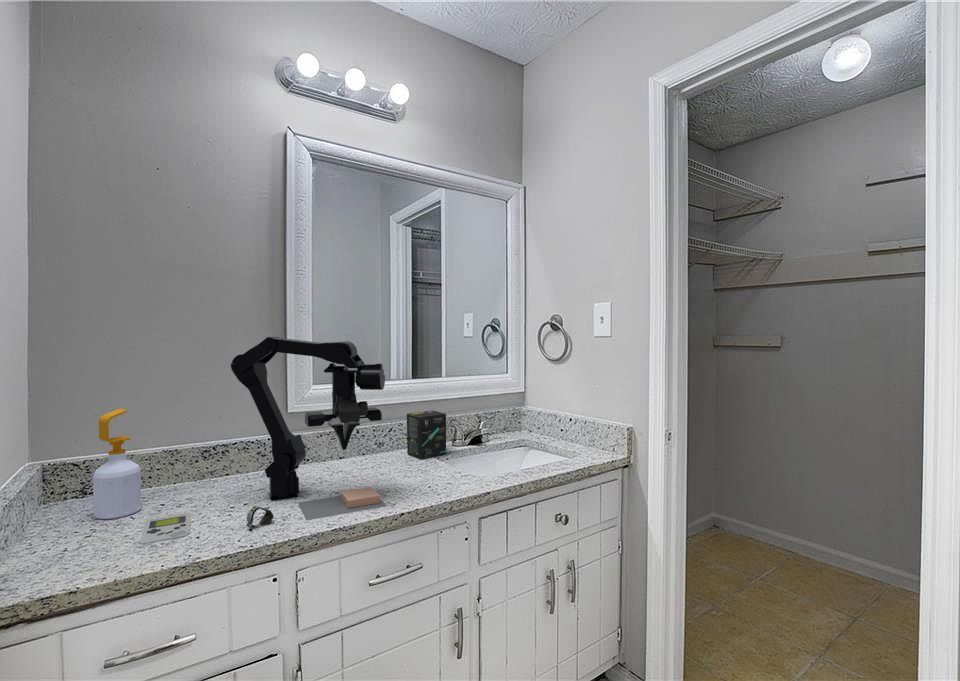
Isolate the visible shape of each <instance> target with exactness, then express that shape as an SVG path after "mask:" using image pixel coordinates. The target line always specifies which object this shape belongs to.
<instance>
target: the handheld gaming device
mask: <svg viewBox="0 0 960 681" xmlns="http://www.w3.org/2000/svg"><path fill="white" fill-rule="evenodd" d="M191 515H192V514H191V512H183V513H177V514H170V515H165V516H158V517H153V518H148V519H146V520H144V521H145V522H144V526H143V529H142V533H141V537H140V541H139V545H147V544H153V543H159V542H163V541H165V542H166V541H168V540H169V541H170V540H175V539H180V538H184V537H187V536H189V535H190V534H191Z"/></svg>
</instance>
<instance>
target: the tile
mask: <svg viewBox="0 0 960 681" xmlns="http://www.w3.org/2000/svg"><path fill="white" fill-rule="evenodd" d="M340 496H341V500H342V501H343V502H344V504H345V505H346V506H347V508H354V507H360V506H365V505H371V504H377V503H380V499H381V495H380V493H379V492H377V490H375V489H374V487H373V486H367V487H360V488H353V489H348V490H341V491H340Z"/></svg>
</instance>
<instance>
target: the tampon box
mask: <svg viewBox="0 0 960 681" xmlns="http://www.w3.org/2000/svg"><path fill="white" fill-rule="evenodd" d="M406 440H407V441H406V444H407V446H406V447H407V449H406V450H407V451H406V452H407V453H406V454H407V455H408V456H411V457H414V458H416V459H419V460H427V459H430V458H434V457H435V458H436V457H439V456H444V455H446V454H447V413H446V412H441V411H437V410H433V409H432V410H425V411H418V412H410V413H406Z"/></svg>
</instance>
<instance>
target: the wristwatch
mask: <svg viewBox="0 0 960 681" xmlns="http://www.w3.org/2000/svg"><path fill="white" fill-rule="evenodd" d="M259 509H260V510H263V512H265V513H264V515H263V516H261V519H260V520H259V522H258V524H259V525H261V526H264V527H265V526H268V525H271V522H272V521H273V519H274V516H275V515H274V514H273V512H272V511H271V510H270V509H268V508H265V507H262V506H260V505H252V508H250V510H248V512H247V515H246V522H247V523H246V527H247V528H249V529H251V530H254V529H257V528H259V526H256V525H254V524H253V522H254V515H255V513H257V511H258V510H259Z"/></svg>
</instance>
